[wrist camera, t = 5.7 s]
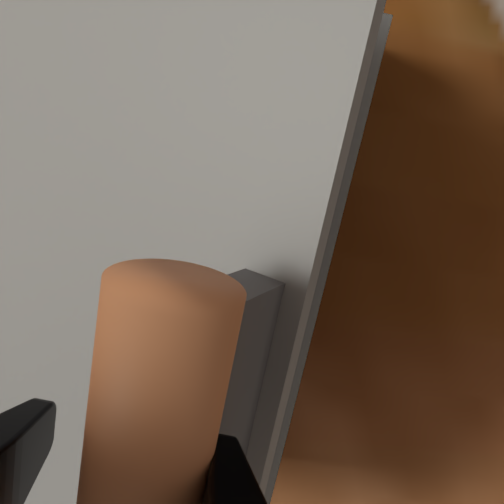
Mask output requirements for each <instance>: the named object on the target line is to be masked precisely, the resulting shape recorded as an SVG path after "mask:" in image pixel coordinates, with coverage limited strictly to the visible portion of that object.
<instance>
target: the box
mask: <svg viewBox="0 0 504 504" xmlns="http://www.w3.org/2000/svg"><path fill="white" fill-rule="evenodd" d="M392 17H393V15H390V14H386V13H383V16H382V20H381V24H380V28H379V32H378V36H377V40H376V44H375V48H374V52H373V56H372V60H371V64H370V68H369V72H368V76H367V81H366V85H365V89H364V93H363V97H362V101H361V105H360V109H359V113H358V117H357V121H356V125H355V129H354V133H353V137H352V141H351V145H350V150H349V154H348V158H347V162H346V166H345V170H344V174H343V178H342V182H341V186H340V190H339V194H338V198H337V202H336V206H335V210H334V215H333V219H332V223H331V227H330V231H329V235H328V239H327V243H326V247H325V251H324V255H323V259H322V263H321V267H320V271H319V275H318V279H317V284H316V288H315V292H314V296H313V300H312V304H311V308H310V312H309V316H308V320H307V324H306V328H305V332H304V336H303V340H302V344H301V349H300V353H299V357H298V361H297V365H296V369H295V373H294V377H293V381H292V385H291V389H290V393H289V397H288V401H287V405H286V409H285V413H284V418H283V422H282V426H281V430H280V434H279V438H278V442H277V446H276V450H275V454H274V458H273V462H272V466H271V470H270V474H269V478H268V483H267V487H266V491H265V495H264V497H265V499H266V502H267V504H270V501H271V497H272V493H273V489H274V485H275V481H276V477H277V473H278V469H279V465H280V461H281V457H282V453H283V450H284V446H285V442H286V438H287V434H288V430H289V426H290V422H291V418H292V414H293V410H294V406H295V402H296V398H297V394H298V390H299V386H300V382H301V378H302V374H303V370H304V366H305V362H306V358H307V354H308V350H309V346H310V342H311V338H312V334H313V330H314V326H315V322H316V318H317V314H318V310H319V307H320V303H321V299H322V295H323V291H324V287H325V283H326V279H327V275H328V271H329V267H330V263H331V259H332V255H333V251H334V247H335V243H336V239H337V235H338V231H339V227H340V223H341V219H342V215H343V211H344V207H345V203H346V199H347V195H348V191H349V187H350V183H351V179H352V175H353V171H354V168H355V164H356V160H357V156H358V152H359V148H360V144H361V140H362V136H363V132H364V128H365V124H366V120H367V116H368V112H369V108H370V104H371V100H372V96H373V92H374V88H375V84H376V80H377V76H378V72H379V68H380V64H381V60H382V56H383V52H384V48H385V44H386V40H387V36H388V32H389V28H390V25H391V21H392Z"/></svg>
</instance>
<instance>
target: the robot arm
mask: <svg viewBox="0 0 504 504" xmlns="http://www.w3.org/2000/svg"><path fill="white" fill-rule="evenodd" d="M56 410H57V408H56V404H55V402H53V401H50V400H44V399H39V398H33V399H30V400H28V401H26V402H23V403H21V404H19V405H17V406H15V407H13V408H11V409H8V410H6V411H4V412H2V413H0V504H24V503H25V501H26V499H27V497H28V495H29V493H30V490H31V488H32V486H33V484H34V482H35V480H36V478H37V476H38V474H39V472H40V470H41V468H42V466H43V464H44V462H45V460H46V458H47V456H48V454H49V452H50V450H51V447H52V444H53V440H54V431H55V421H56ZM202 504H267V502H266V499H265V497H264V495H263V493H262V491H261V488H260V486H259V484H258V482H257V480H256V478H255V475H254V473H253V471H252V469H251V467H250V465H249V462H248V460H247V458H246V456H245V454H244V452H243V449H242V447H241V445H240V443H239V441H238V439H237V438H236V437H235V436H230V435H225V434H220V433H219V434H218V439H217V444H216V449H215V453H214V455H213V458H212V460H211V463H210V468H209V472H208V477H207V482H206V487H205V492H204V496H203V501H202Z"/></svg>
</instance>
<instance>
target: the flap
mask: <svg viewBox="0 0 504 504" xmlns="http://www.w3.org/2000/svg"><path fill="white" fill-rule="evenodd" d="M385 3H386V0H0V413H2V412H4V411H6V410H8V409H11V408H13V407H15V406H17V405H19V404H21V403H23V402H26V401H28V400H30V399H33V398H39V399H44V400H50V401H53V402H55V404H56V408H57V410H56V421H55V431H54V440H53V444H52V447H51V450H50V452H49V454H48V456H47V458H46V460H45V462H44V464H43V466H42V468H41V470H40V472H39V474H38V476H37V478H36V480H35V482H34V484H33V486H32V488H31V490H30V493H29V495H28V497H27V499H26V501H25V503H24V504H202V501H203V496H204V492H205V487H206V482H207V477H208V472H209V468H210V463H211V460H212V458H213V455H214V453H215V449H216V444H217V439H218V434H219V433H220V434H225V435H230V436H235V437H236V438H237V439H238V441H239V443H240V445H241V447H242V449H243V452H244V454H245V456H246V458H247V460H248V462H249V465H250V467H251V469H252V471H253V473H254V475H255V478H256V480H257V482H258V484H259V486H260V488H261V491H262V493H263V495H265V491H266V487H267V483H268V478H269V474H270V470H271V466H272V462H273V458H274V454H275V450H276V446H277V442H278V438H279V434H280V430H281V426H282V422H283V418H284V413H285V409H286V405H287V401H288V397H289V393H290V389H291V385H292V381H293V377H294V373H295V369H296V365H297V361H298V357H299V353H300V349H301V344H302V340H303V336H304V332H305V328H306V324H307V320H308V316H309V312H310V308H311V304H312V300H313V296H314V292H315V288H316V284H317V279H318V275H319V271H320V267H321V263H322V259H323V255H324V251H325V247H326V243H327V239H328V235H329V231H330V227H331V223H332V219H333V215H334V210H335V206H336V202H337V198H338V194H339V190H340V186H341V182H342V178H343V174H344V170H345V166H346V162H347V158H348V154H349V150H350V145H351V141H352V137H353V133H354V129H355V125H356V121H357V117H358V113H359V109H360V105H361V101H362V97H363V93H364V89H365V85H366V81H367V76H368V72H369V68H370V64H371V60H372V56H373V52H374V48H375V44H376V40H377V36H378V32H379V28H380V24H381V20H382V16H383V11H384V7H385Z"/></svg>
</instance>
